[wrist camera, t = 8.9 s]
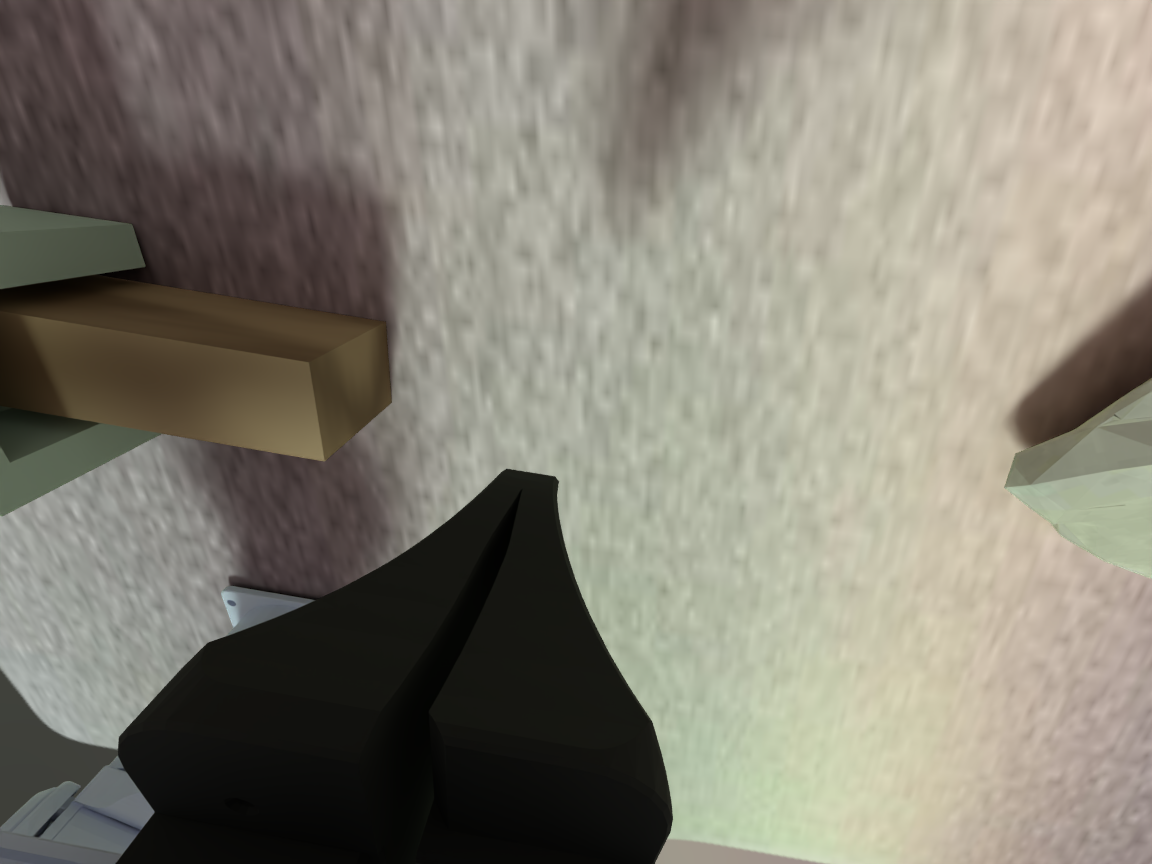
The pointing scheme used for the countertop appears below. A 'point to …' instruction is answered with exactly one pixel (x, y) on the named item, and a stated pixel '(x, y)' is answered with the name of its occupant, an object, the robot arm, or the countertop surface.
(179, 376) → the bar
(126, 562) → the countertop surface
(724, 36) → the countertop surface
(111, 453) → the block
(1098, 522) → the rock
